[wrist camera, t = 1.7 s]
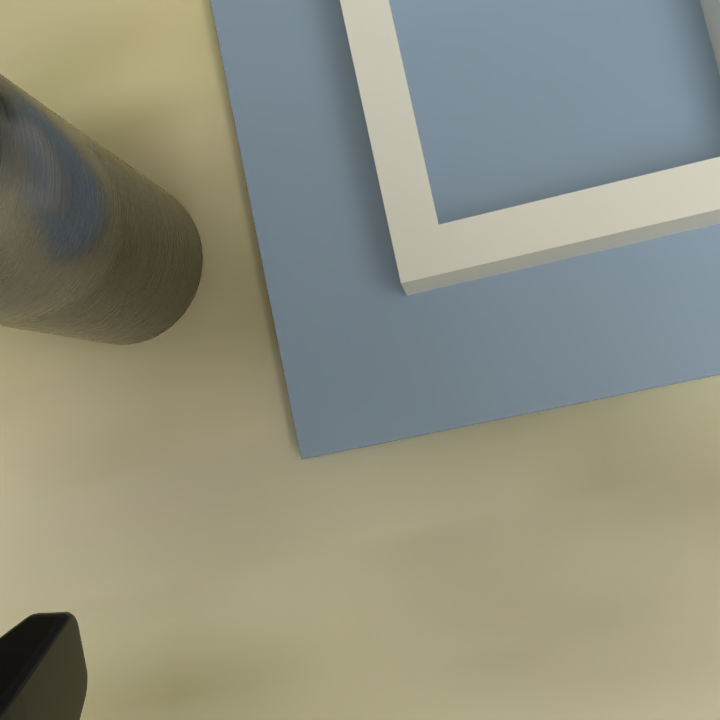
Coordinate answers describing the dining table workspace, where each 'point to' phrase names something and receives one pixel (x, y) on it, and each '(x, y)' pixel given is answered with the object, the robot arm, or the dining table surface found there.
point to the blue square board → (478, 203)
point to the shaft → (85, 234)
